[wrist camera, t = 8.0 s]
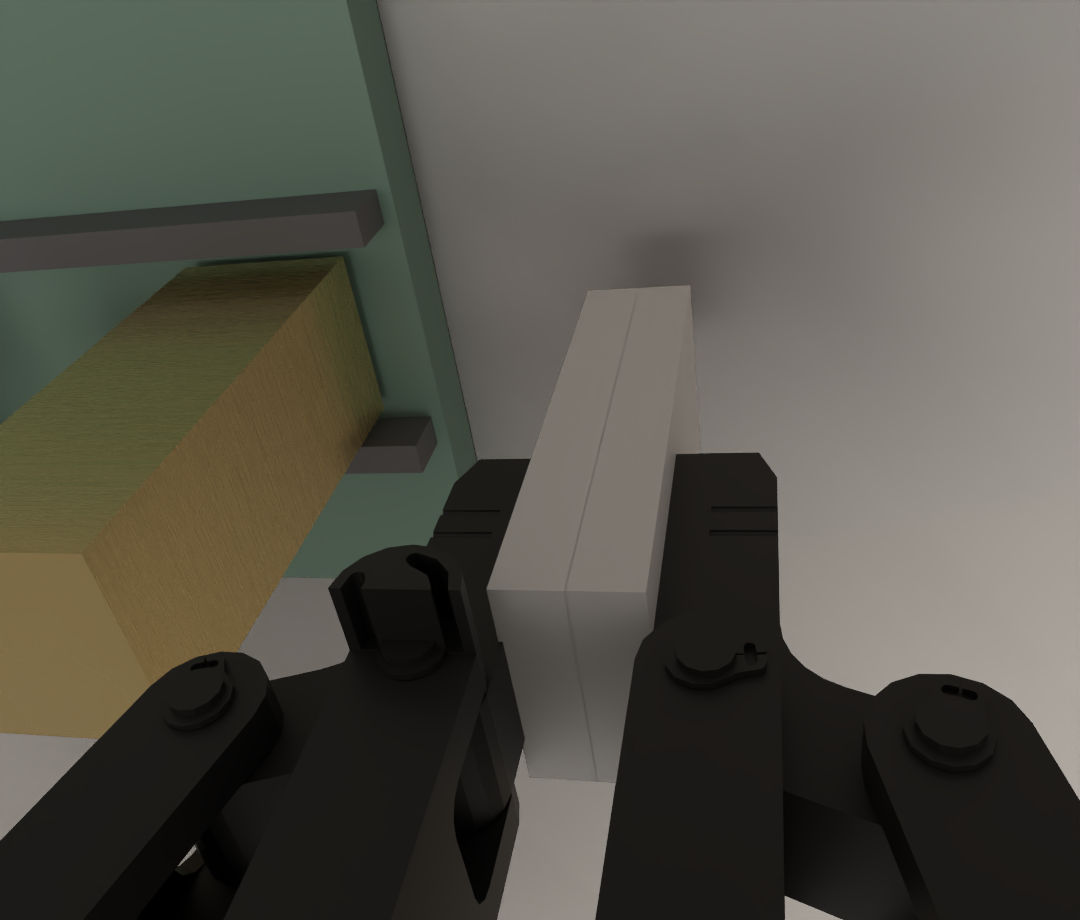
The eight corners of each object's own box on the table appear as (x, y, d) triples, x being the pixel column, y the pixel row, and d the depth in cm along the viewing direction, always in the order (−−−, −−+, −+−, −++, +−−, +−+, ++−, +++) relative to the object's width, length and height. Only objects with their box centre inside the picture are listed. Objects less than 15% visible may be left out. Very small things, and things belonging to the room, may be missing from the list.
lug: (83, 416, 20) (-238, 717, 13) (18, 278, 18) (-383, 548, 12) (384, 407, 18) (180, 743, 12) (342, 256, 16) (80, 553, 10)
